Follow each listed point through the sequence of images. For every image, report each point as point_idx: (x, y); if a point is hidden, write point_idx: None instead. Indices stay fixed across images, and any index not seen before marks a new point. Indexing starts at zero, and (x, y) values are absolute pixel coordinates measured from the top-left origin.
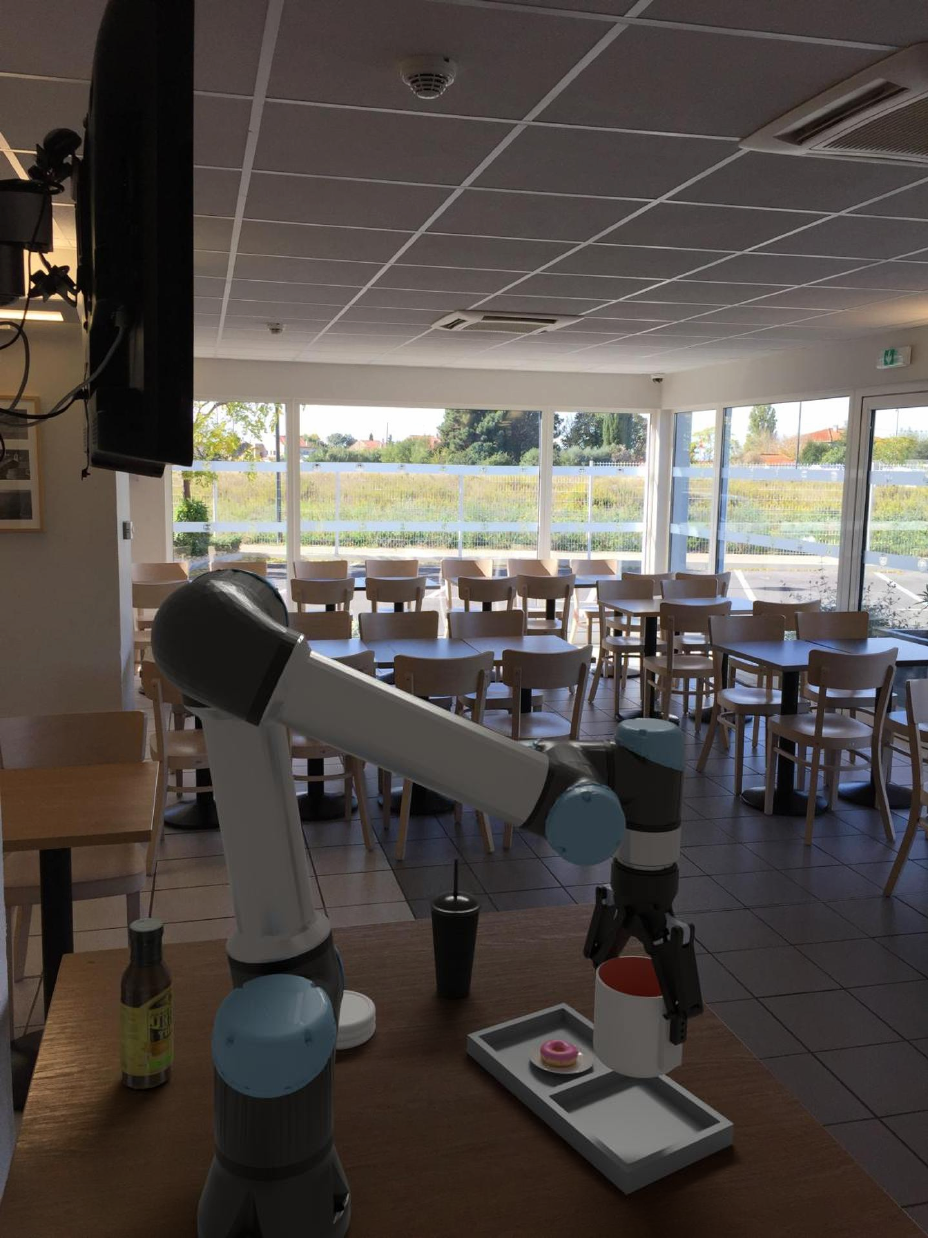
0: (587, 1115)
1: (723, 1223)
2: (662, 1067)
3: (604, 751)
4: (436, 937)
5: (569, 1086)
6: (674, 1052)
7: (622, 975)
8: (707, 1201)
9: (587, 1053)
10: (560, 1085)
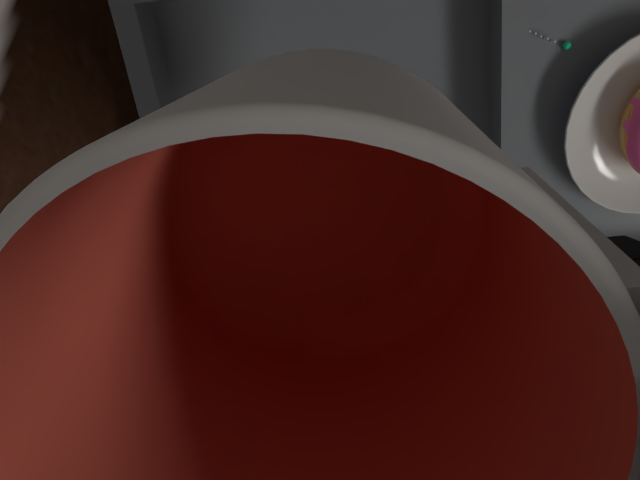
0: (415, 56)
1: (3, 137)
2: None
3: None
4: None
5: (507, 44)
6: None
7: (554, 409)
8: (68, 149)
9: (635, 207)
10: (527, 20)
